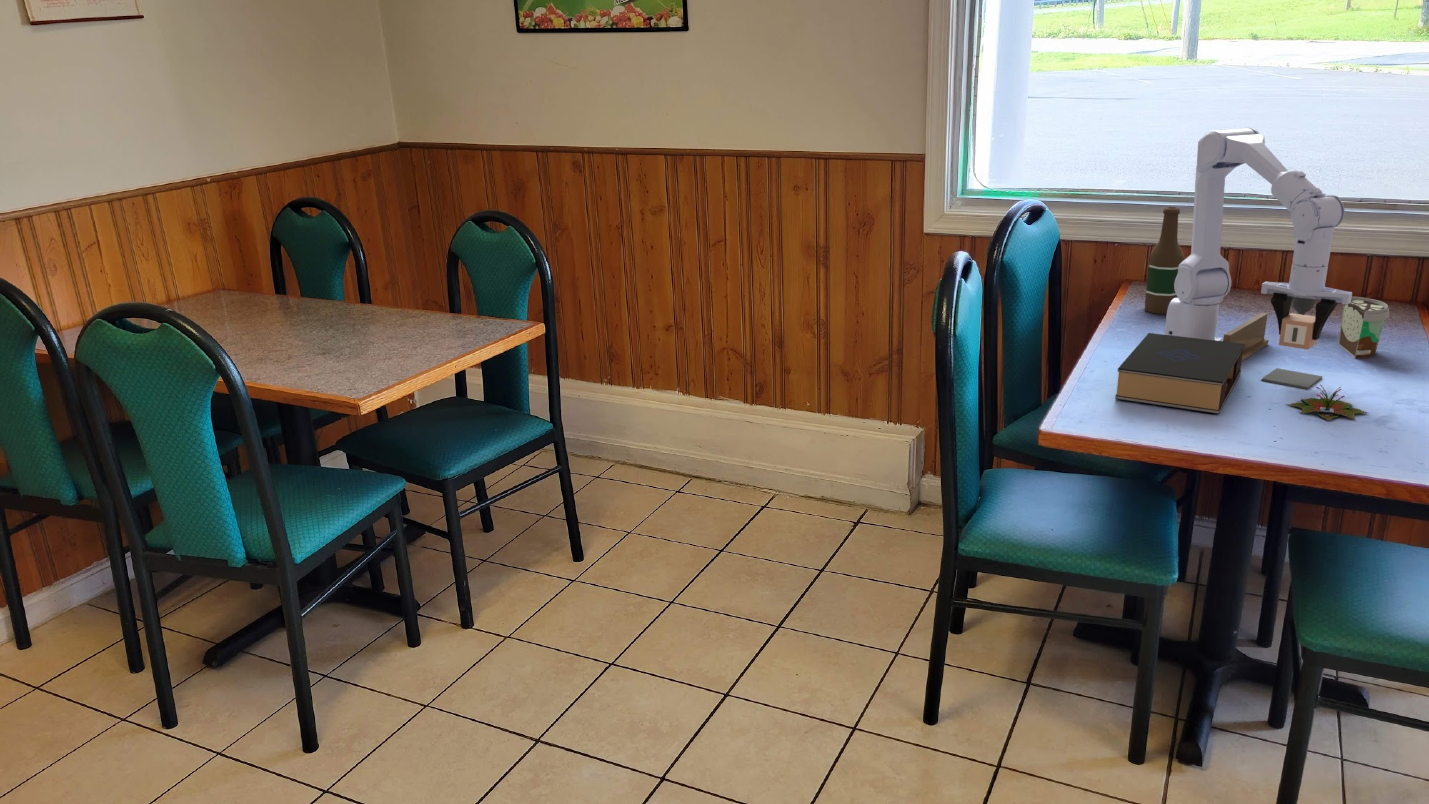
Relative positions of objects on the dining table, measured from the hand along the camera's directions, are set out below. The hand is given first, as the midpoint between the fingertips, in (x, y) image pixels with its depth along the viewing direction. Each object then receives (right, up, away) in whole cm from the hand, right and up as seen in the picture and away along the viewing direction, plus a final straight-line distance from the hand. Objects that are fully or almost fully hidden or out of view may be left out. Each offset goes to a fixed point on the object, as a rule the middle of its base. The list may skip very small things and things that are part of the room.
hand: (1298, 336), depth 194 cm
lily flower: (-2, -14, -12) cm, 19 cm away
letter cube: (0, -1, 0) cm, 2 cm away
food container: (+22, -2, +16) cm, 28 cm away
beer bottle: (-4, +9, +51) cm, 52 cm away
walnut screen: (-2, -3, +18) cm, 18 cm away
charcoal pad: (0, -8, +3) cm, 8 cm away
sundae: (+19, +4, +33) cm, 38 cm away
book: (-22, -10, +1) cm, 24 cm away
